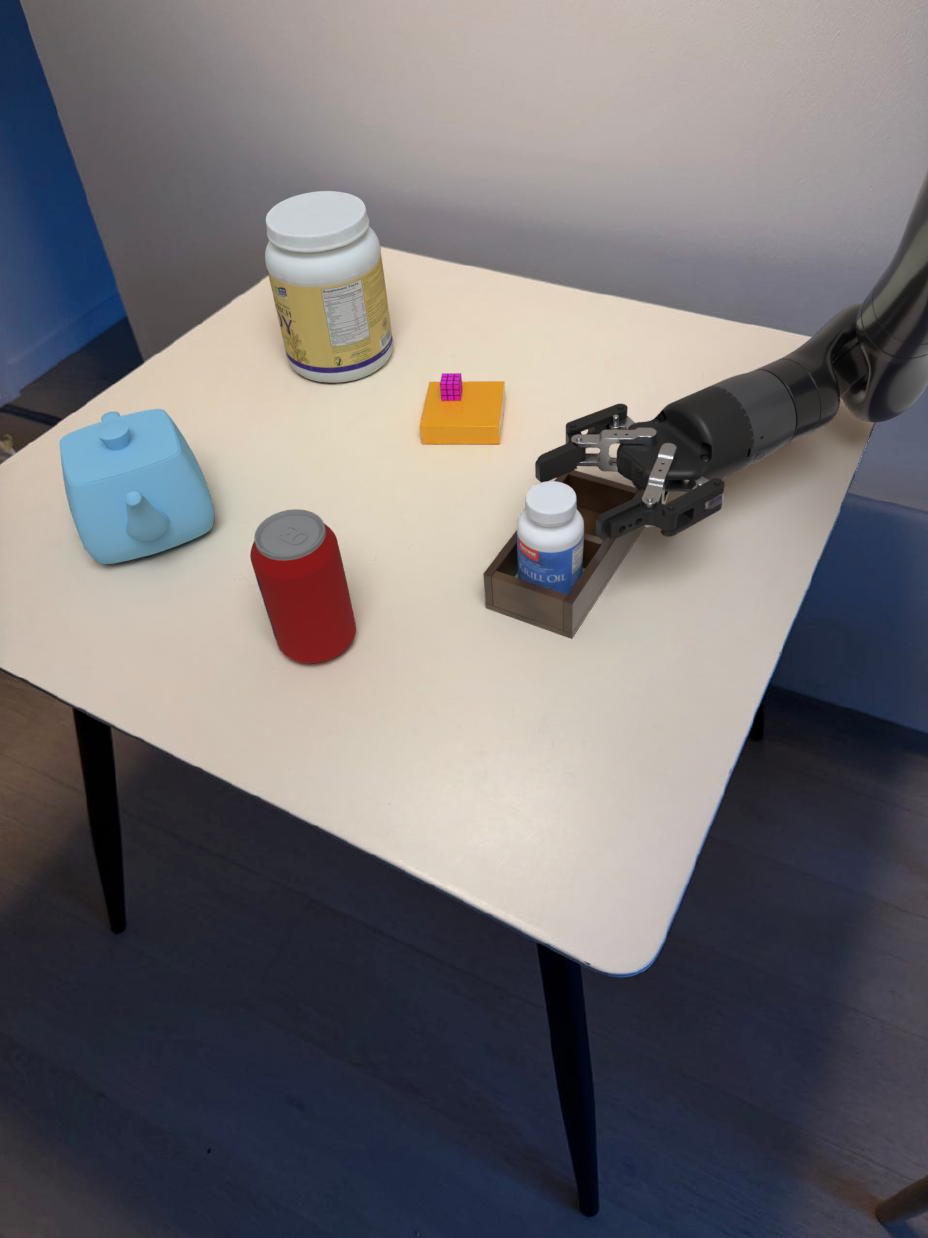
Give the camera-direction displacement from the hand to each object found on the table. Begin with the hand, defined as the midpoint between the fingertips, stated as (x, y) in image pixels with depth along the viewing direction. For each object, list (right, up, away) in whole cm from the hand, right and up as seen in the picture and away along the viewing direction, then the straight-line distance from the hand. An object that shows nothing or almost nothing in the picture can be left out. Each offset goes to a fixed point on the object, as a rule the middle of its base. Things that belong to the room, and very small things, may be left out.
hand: (567, 499), depth 79 cm
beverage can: (-20, -11, +4) cm, 24 cm away
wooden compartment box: (+1, -5, +8) cm, 10 cm away
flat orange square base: (-8, +11, +24) cm, 28 cm away
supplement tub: (-22, +20, +34) cm, 46 cm away
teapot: (-38, -2, +15) cm, 41 cm away
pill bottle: (-1, -7, +6) cm, 9 cm away
